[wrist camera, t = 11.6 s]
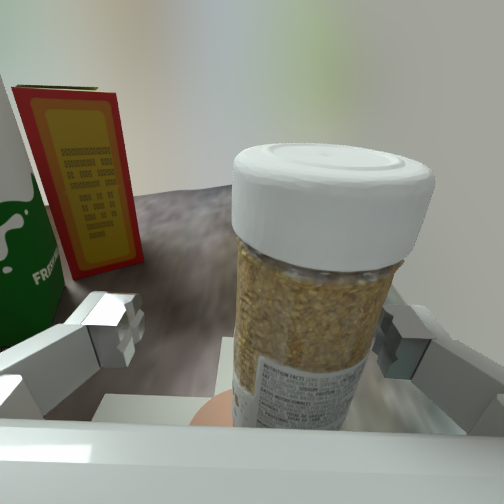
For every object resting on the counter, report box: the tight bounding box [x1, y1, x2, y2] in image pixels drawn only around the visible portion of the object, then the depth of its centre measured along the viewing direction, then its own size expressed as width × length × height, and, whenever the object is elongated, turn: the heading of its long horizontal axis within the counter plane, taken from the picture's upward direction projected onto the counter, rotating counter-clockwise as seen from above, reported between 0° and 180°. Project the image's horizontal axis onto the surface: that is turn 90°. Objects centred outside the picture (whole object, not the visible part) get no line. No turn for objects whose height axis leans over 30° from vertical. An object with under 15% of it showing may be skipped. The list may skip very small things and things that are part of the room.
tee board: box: [91, 337, 234, 427], centre depth 13 cm, size 11×14×1 cm
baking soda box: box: [11, 85, 144, 280], centre depth 27 cm, size 10×6×16 cm
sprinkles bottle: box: [232, 143, 435, 431], centre depth 10 cm, size 5×5×13 cm
